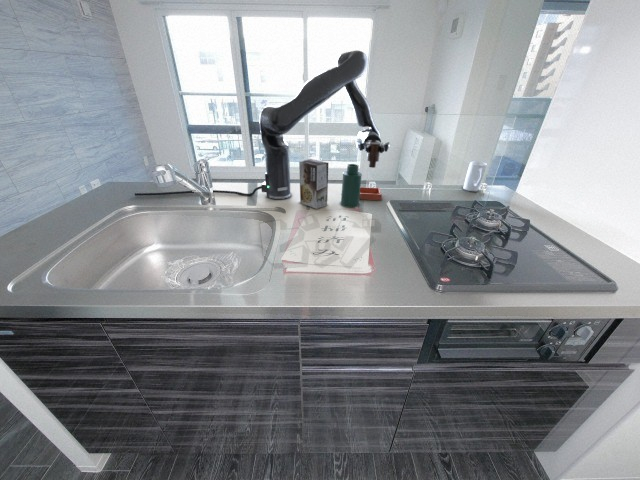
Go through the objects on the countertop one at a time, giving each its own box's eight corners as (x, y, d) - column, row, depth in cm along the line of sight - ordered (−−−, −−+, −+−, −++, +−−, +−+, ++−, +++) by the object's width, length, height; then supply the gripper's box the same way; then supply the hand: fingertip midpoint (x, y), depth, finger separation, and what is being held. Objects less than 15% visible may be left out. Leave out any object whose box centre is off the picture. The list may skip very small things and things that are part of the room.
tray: (357, 199, 108) (358, 193, 107) (357, 192, 116) (357, 186, 114) (380, 200, 108) (381, 194, 107) (378, 193, 115) (379, 188, 114)
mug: (460, 186, 126) (468, 161, 120) (475, 187, 126) (483, 161, 120) (468, 193, 118) (476, 166, 112) (484, 194, 117) (493, 167, 111)
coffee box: (327, 205, 102) (329, 162, 94) (316, 209, 98) (317, 165, 90) (311, 198, 107) (311, 158, 100) (299, 203, 103) (298, 160, 95)
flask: (340, 206, 101) (343, 167, 93) (341, 200, 107) (343, 162, 99) (358, 207, 100) (362, 168, 93) (358, 201, 106) (362, 163, 99)
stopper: (366, 168, 104) (369, 144, 99) (366, 165, 108) (368, 141, 103) (378, 168, 104) (381, 144, 99) (377, 165, 108) (380, 142, 103)
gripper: (355, 132, 113) (356, 138, 98) (389, 133, 112) (395, 140, 97) (354, 150, 117) (355, 159, 102) (386, 151, 116) (392, 160, 101)
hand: (375, 149), depth 100 cm, fingers closed on stopper, 4 cm apart
